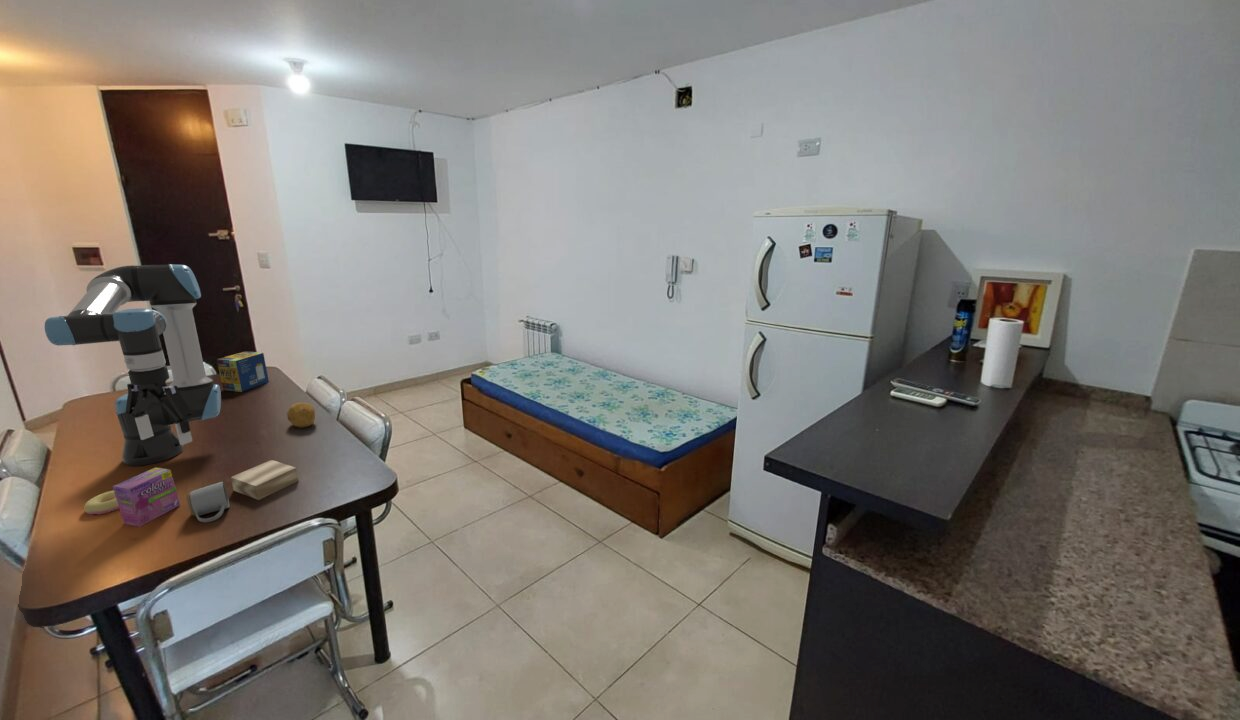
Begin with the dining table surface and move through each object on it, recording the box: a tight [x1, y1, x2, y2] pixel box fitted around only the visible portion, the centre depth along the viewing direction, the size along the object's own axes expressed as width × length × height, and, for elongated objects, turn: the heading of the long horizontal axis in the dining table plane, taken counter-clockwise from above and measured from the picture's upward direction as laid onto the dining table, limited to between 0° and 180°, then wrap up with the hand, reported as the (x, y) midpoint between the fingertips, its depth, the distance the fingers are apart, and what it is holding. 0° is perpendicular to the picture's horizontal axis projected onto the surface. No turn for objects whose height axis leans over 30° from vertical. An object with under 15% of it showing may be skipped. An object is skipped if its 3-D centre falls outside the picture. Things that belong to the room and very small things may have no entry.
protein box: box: [216, 350, 270, 393], centre depth 232 cm, size 10×15×16 cm
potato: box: [286, 402, 316, 428], centre depth 191 cm, size 10×13×9 cm
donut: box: [83, 489, 120, 515], centre depth 137 cm, size 10×5×9 cm
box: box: [112, 466, 181, 527], centre depth 132 cm, size 10×6×12 cm, turn 168°
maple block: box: [230, 459, 299, 501], centre depth 149 cm, size 12×12×5 cm
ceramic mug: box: [186, 481, 230, 523], centre depth 134 cm, size 11×8×8 cm
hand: (166, 440), depth 133 cm, fingers open, 13 cm apart
